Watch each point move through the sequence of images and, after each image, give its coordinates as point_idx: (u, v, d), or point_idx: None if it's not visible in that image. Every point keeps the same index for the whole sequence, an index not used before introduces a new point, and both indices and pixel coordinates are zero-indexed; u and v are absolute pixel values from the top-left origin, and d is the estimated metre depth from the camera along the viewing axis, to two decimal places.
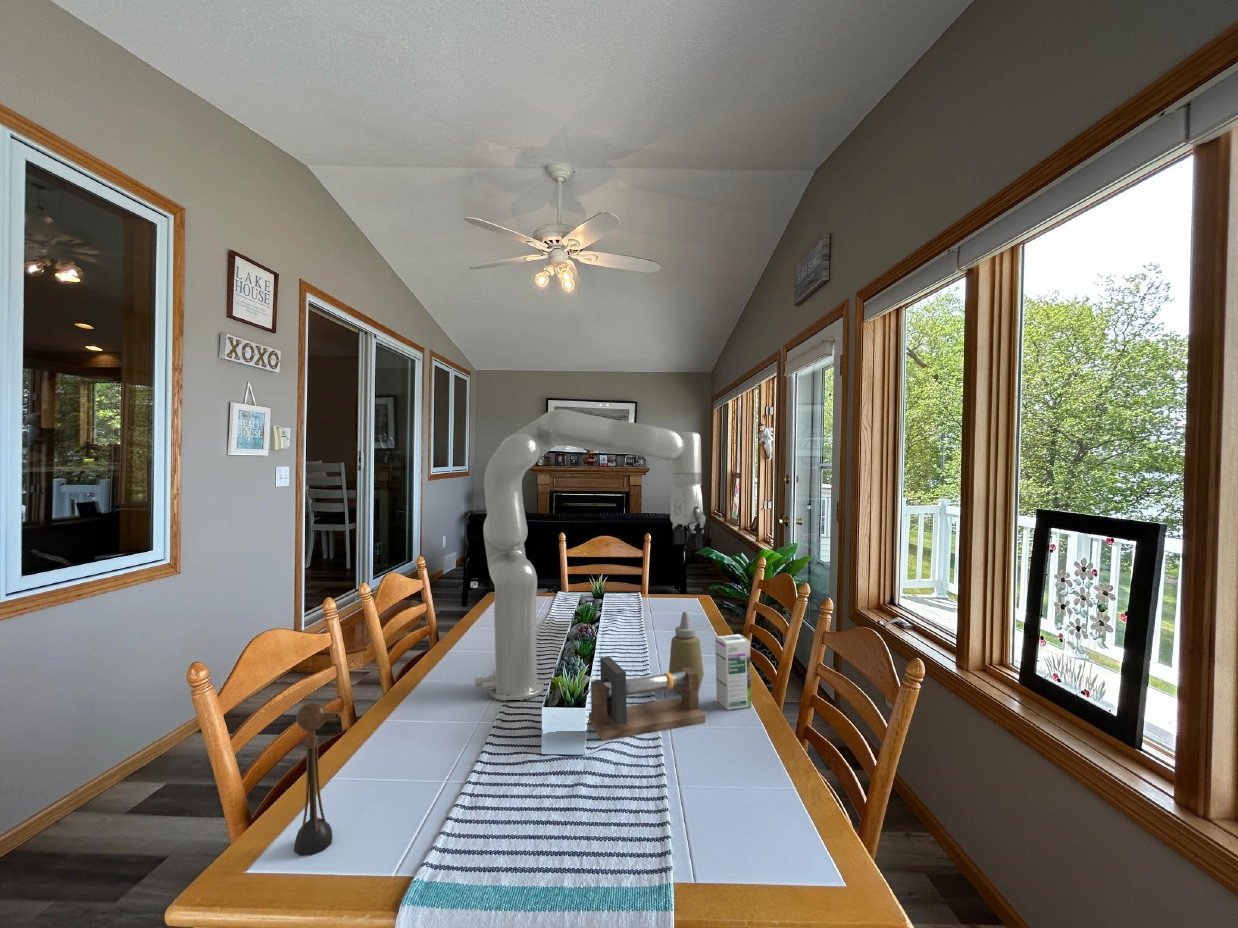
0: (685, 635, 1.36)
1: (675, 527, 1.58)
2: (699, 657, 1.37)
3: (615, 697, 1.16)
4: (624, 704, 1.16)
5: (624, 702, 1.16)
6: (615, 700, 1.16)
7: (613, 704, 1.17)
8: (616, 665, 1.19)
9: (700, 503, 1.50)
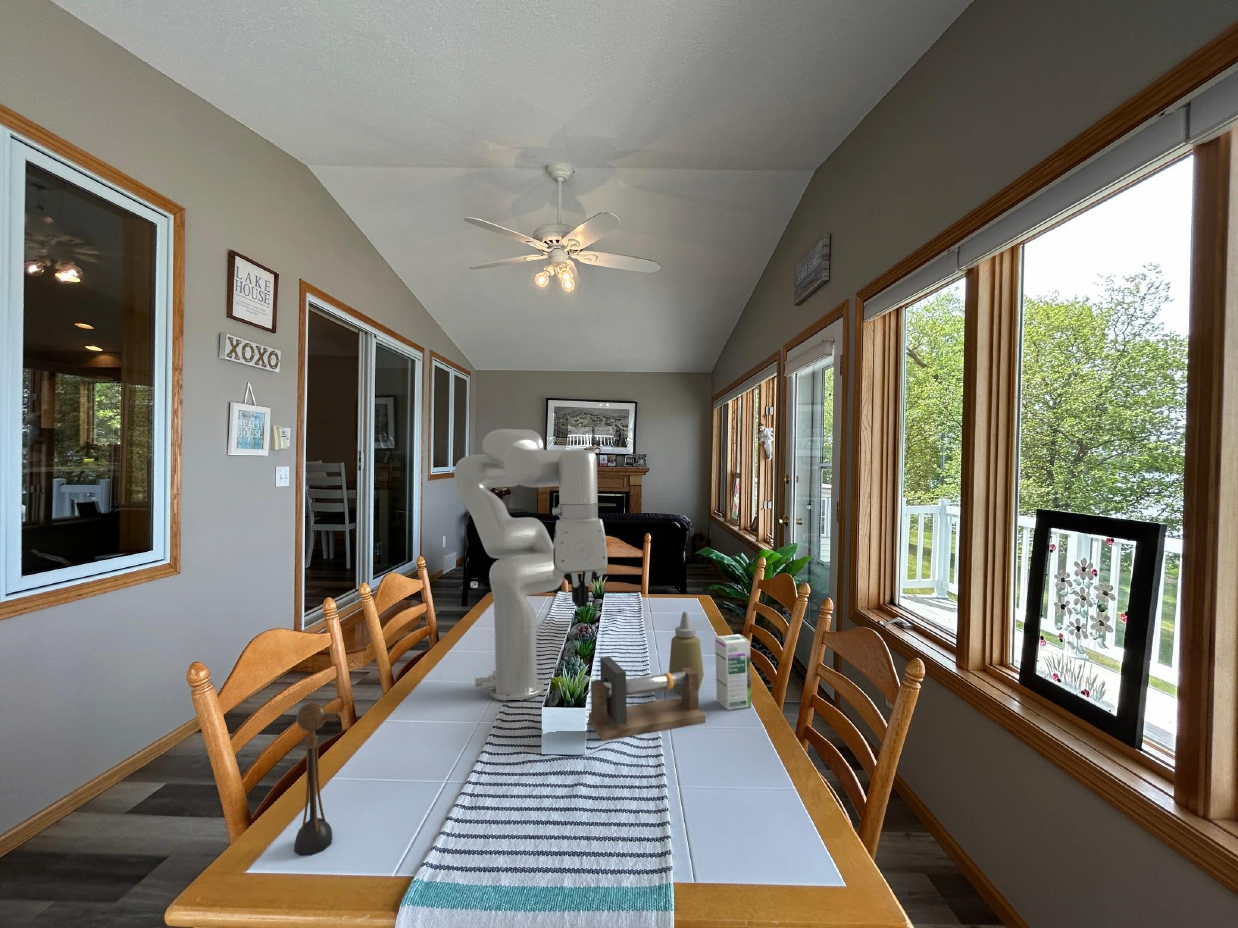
0: (685, 635, 1.36)
1: None
2: (699, 657, 1.37)
3: (615, 697, 1.16)
4: (624, 704, 1.16)
5: (624, 702, 1.16)
6: (615, 700, 1.16)
7: (613, 704, 1.17)
8: (616, 665, 1.19)
9: None
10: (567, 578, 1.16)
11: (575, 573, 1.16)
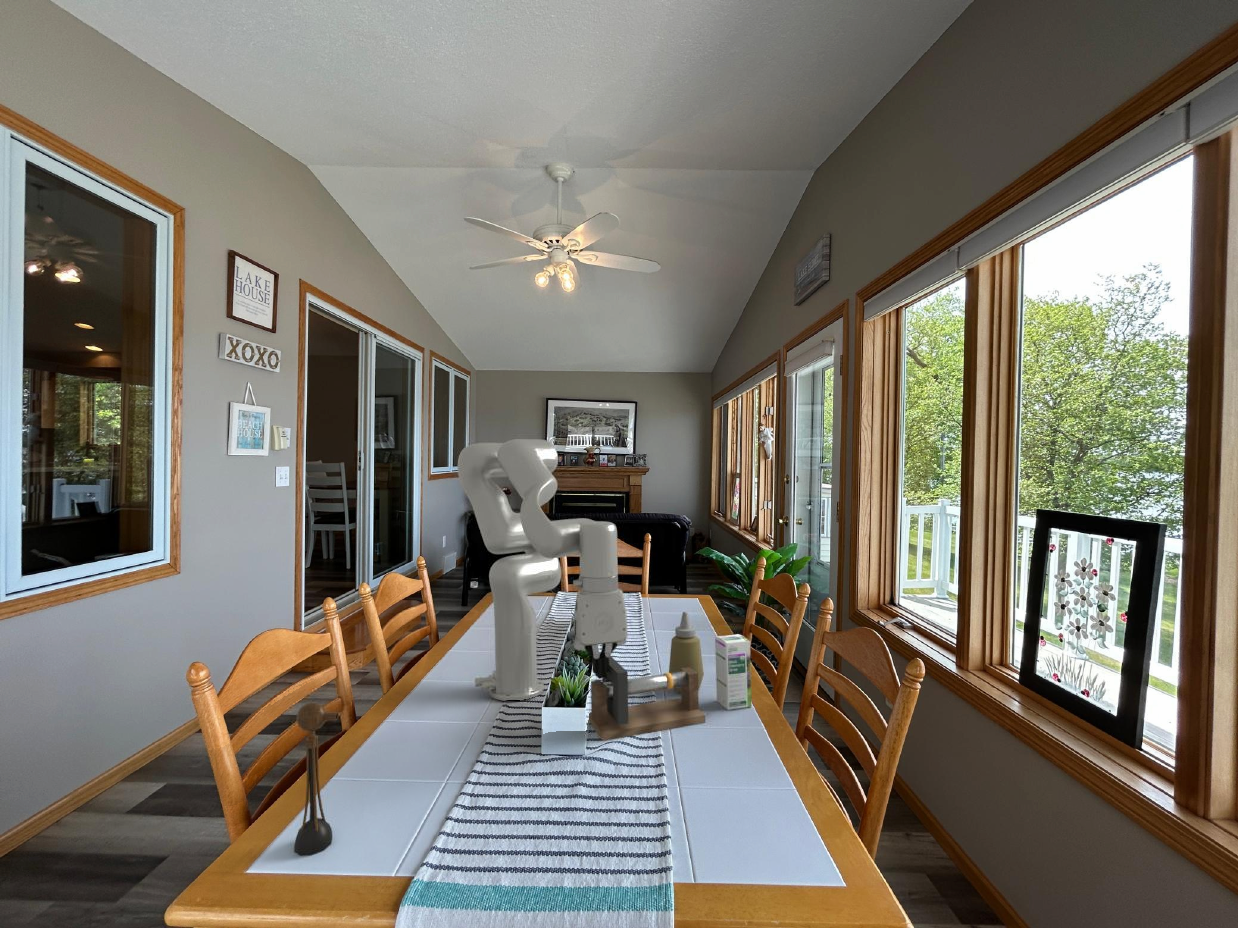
0: (685, 635, 1.36)
1: (598, 652, 1.18)
2: (699, 657, 1.37)
3: (617, 697, 1.16)
4: (626, 704, 1.16)
5: (626, 702, 1.16)
6: (616, 700, 1.16)
7: (615, 703, 1.17)
8: (618, 665, 1.20)
9: None
10: (588, 650, 1.17)
11: (596, 645, 1.17)
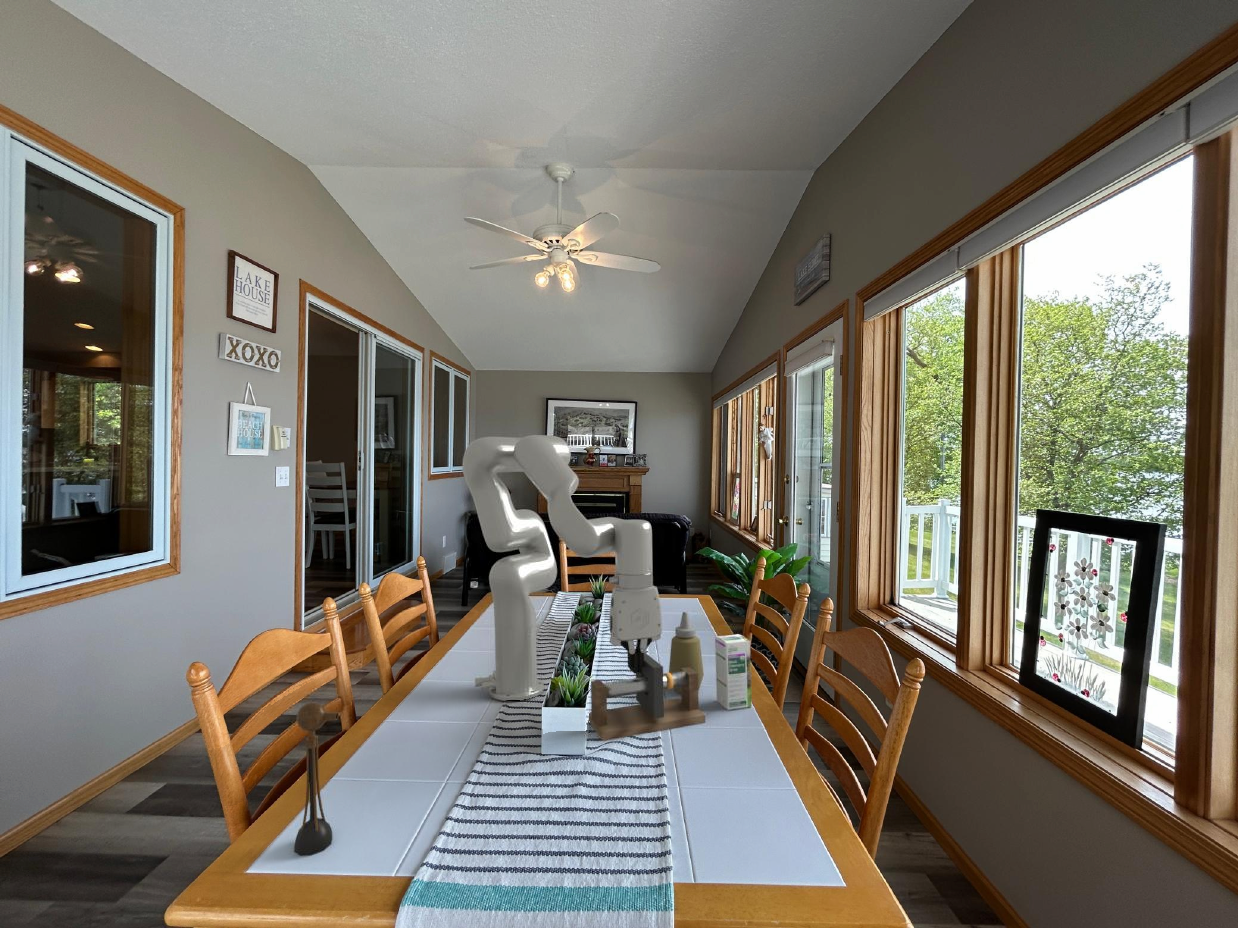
0: (685, 635, 1.36)
1: None
2: (699, 657, 1.37)
3: (652, 691, 1.18)
4: (661, 698, 1.18)
5: (661, 696, 1.18)
6: (652, 694, 1.18)
7: (650, 698, 1.19)
8: (652, 660, 1.22)
9: None
10: (624, 645, 1.20)
11: (631, 640, 1.20)
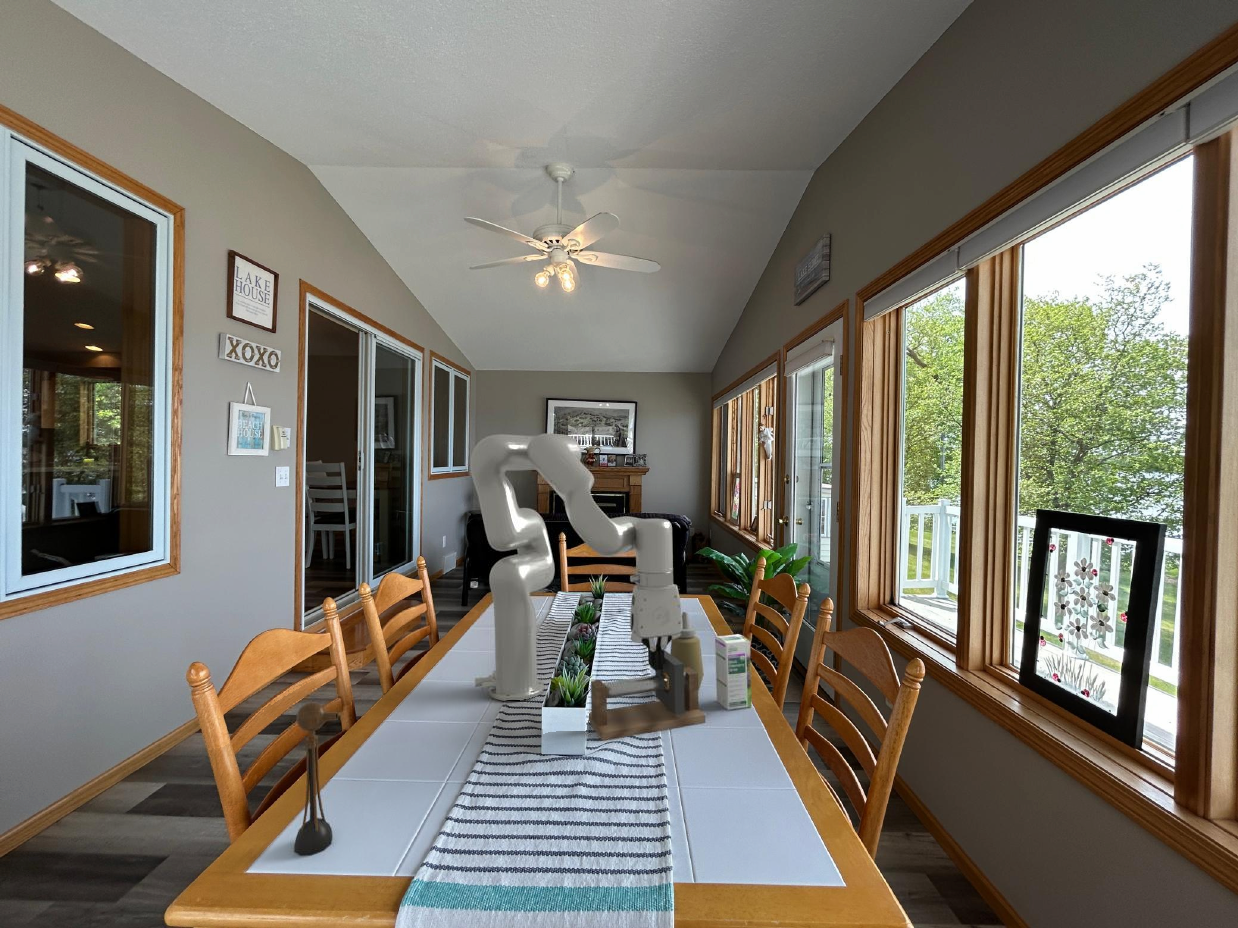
0: (685, 635, 1.36)
1: (655, 645, 1.22)
2: (699, 657, 1.37)
3: (673, 688, 1.20)
4: (682, 695, 1.20)
5: (682, 693, 1.20)
6: (673, 691, 1.20)
7: (671, 694, 1.21)
8: (672, 657, 1.24)
9: None
10: (645, 642, 1.21)
11: (652, 638, 1.21)
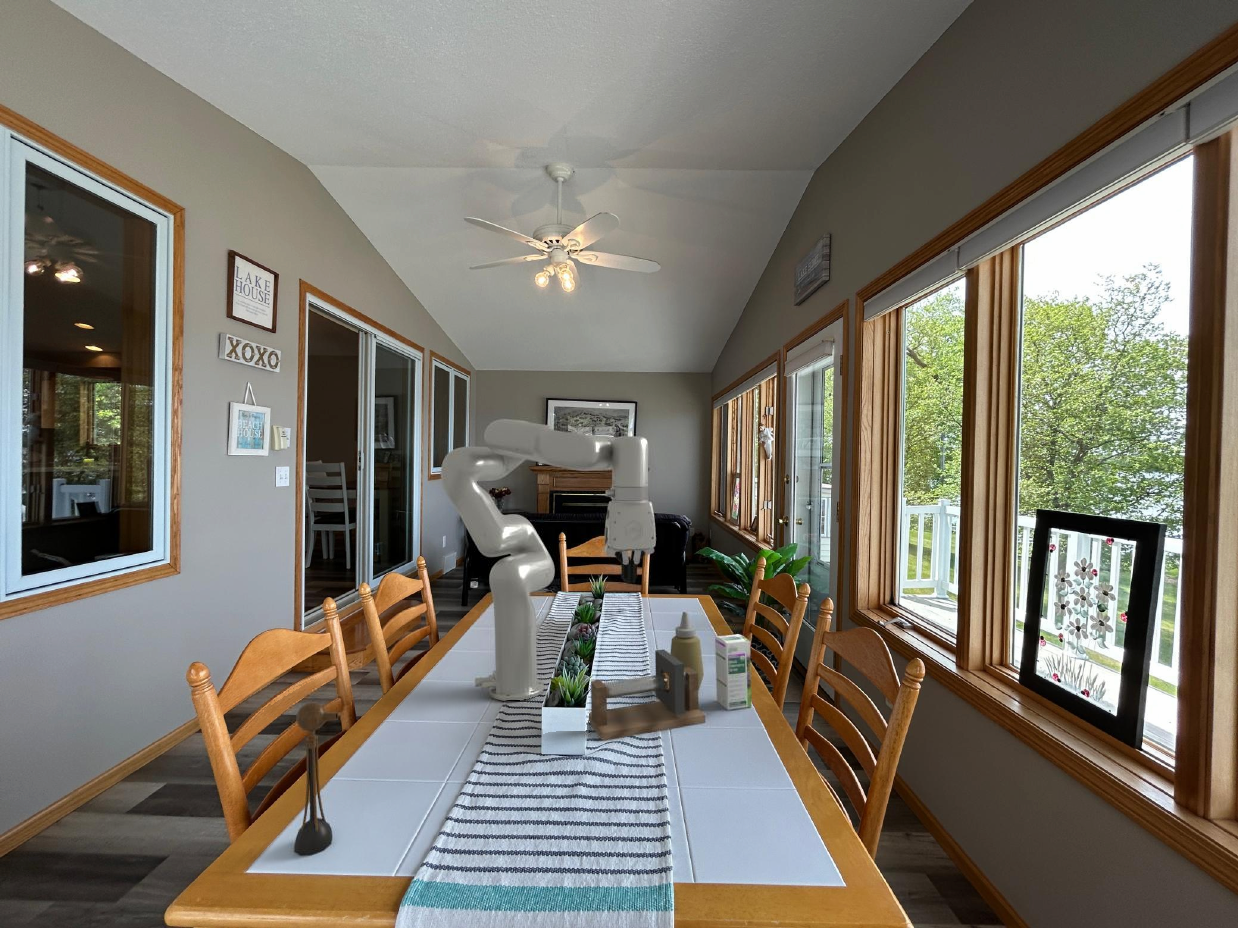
0: (685, 635, 1.36)
1: (628, 559, 1.24)
2: (699, 657, 1.37)
3: (674, 688, 1.20)
4: (682, 695, 1.20)
5: (682, 693, 1.20)
6: (673, 691, 1.20)
7: (671, 694, 1.21)
8: (673, 657, 1.24)
9: None
10: (618, 556, 1.24)
11: (625, 551, 1.24)
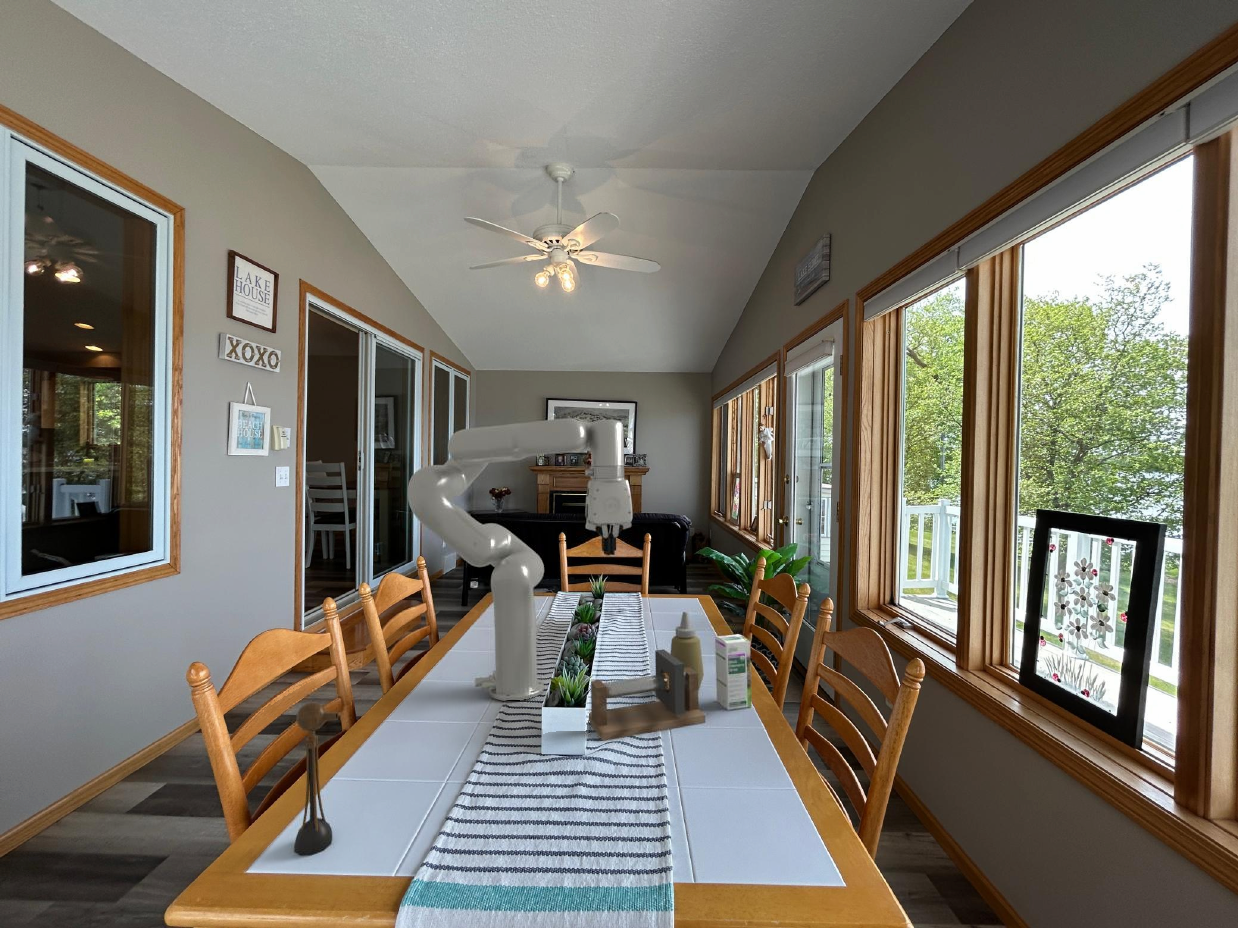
0: (685, 635, 1.36)
1: (607, 532, 1.35)
2: (699, 657, 1.37)
3: (674, 688, 1.20)
4: (682, 695, 1.20)
5: (682, 693, 1.20)
6: (673, 691, 1.20)
7: (671, 694, 1.21)
8: (673, 657, 1.24)
9: None
10: (598, 530, 1.35)
11: (605, 525, 1.35)
